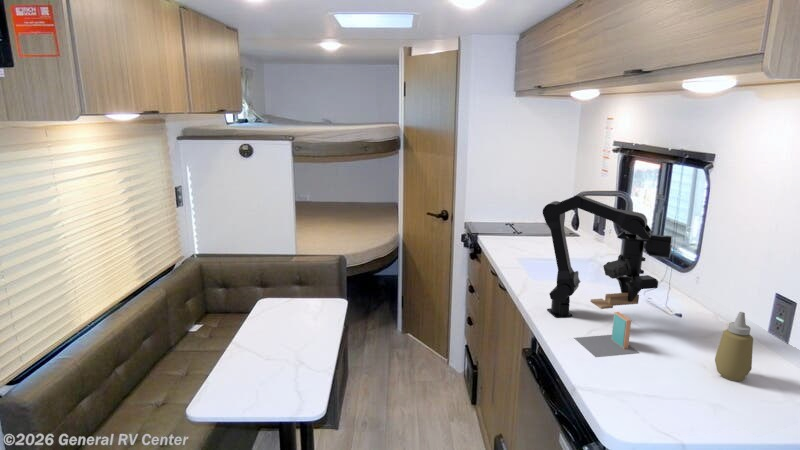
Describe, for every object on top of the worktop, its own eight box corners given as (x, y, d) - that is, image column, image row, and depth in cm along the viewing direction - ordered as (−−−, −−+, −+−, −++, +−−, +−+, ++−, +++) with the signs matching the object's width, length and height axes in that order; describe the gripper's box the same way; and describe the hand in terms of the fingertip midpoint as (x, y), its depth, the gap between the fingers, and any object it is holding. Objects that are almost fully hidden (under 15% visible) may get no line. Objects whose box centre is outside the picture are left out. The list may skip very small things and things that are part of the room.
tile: (610, 339, 143) (613, 312, 141) (615, 339, 143) (618, 311, 141) (623, 349, 137) (626, 320, 135) (627, 348, 138) (631, 320, 136)
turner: (590, 301, 152) (591, 292, 151) (629, 298, 154) (630, 290, 153) (601, 308, 146) (602, 299, 145) (641, 305, 148) (642, 297, 147)
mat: (573, 339, 144) (573, 337, 144) (614, 336, 147) (614, 334, 146) (595, 359, 133) (595, 357, 133) (639, 354, 135) (640, 353, 135)
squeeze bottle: (705, 370, 127) (715, 309, 123) (726, 365, 129) (736, 304, 125) (735, 386, 119) (747, 321, 115) (756, 380, 122) (769, 316, 118)
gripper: (592, 246, 154) (588, 291, 158) (628, 263, 136) (622, 313, 140) (622, 244, 156) (618, 288, 160) (662, 261, 138) (655, 310, 142)
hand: (627, 299), depth 150 cm, fingers closed on turner, 3 cm apart
